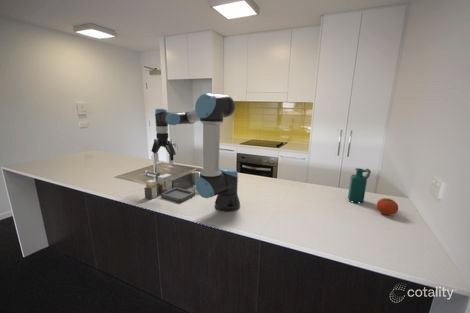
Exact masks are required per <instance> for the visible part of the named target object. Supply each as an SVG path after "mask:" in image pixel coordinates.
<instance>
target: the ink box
mask: <svg viewBox="0 0 470 313" xmlns="http://www.w3.org/2000/svg"><path fill="white" fill-rule="evenodd" d="M172 180H173V178H172V174H169V173H163V174H161V175H157V184H161V185H162V193H164V192H166V191H169V190H171V189H172Z"/></svg>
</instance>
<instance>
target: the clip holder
mask: <svg viewBox="0 0 470 313" xmlns="http://www.w3.org/2000/svg"><path fill="white" fill-rule="evenodd" d="M173 188H175V180H174V179H172V189H173ZM161 194H162V185H161V184H158V183H157V180H154V179H148V180H146V181H145V187H144V198H145V199H147V200H153V199H156V198H158V197H159V196H161Z"/></svg>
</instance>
